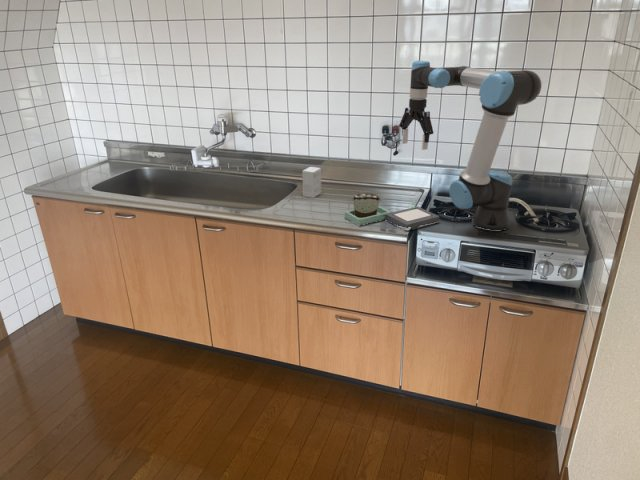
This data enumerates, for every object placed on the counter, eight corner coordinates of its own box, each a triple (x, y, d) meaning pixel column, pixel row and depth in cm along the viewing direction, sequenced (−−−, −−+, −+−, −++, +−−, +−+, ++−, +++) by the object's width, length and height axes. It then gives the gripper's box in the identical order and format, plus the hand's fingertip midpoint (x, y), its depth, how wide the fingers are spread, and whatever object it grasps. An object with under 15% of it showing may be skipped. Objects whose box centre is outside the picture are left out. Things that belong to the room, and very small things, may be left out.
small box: (310, 191, 250) (310, 166, 244) (321, 193, 247) (321, 168, 242) (302, 196, 243) (302, 170, 238) (313, 198, 240) (313, 172, 235)
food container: (378, 213, 220) (379, 191, 216) (379, 218, 215) (380, 196, 211) (350, 212, 221) (351, 191, 217) (351, 217, 215) (352, 196, 211)
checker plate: (430, 217, 211) (431, 215, 211) (407, 223, 205) (407, 221, 205) (416, 210, 218) (417, 208, 218) (393, 216, 212) (393, 214, 212)
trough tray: (390, 218, 216) (391, 212, 215) (359, 226, 208) (359, 219, 207) (375, 210, 224) (376, 204, 223) (344, 218, 216) (344, 211, 215)
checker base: (438, 222, 211) (439, 215, 210) (406, 231, 203) (407, 223, 201) (416, 212, 222) (417, 205, 221) (385, 220, 214) (385, 212, 212)
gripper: (444, 101, 208) (439, 151, 217) (406, 94, 227) (403, 139, 236) (431, 103, 204) (426, 153, 213) (393, 95, 224) (390, 141, 233)
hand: (414, 146), depth 225 cm, fingers open, 13 cm apart
